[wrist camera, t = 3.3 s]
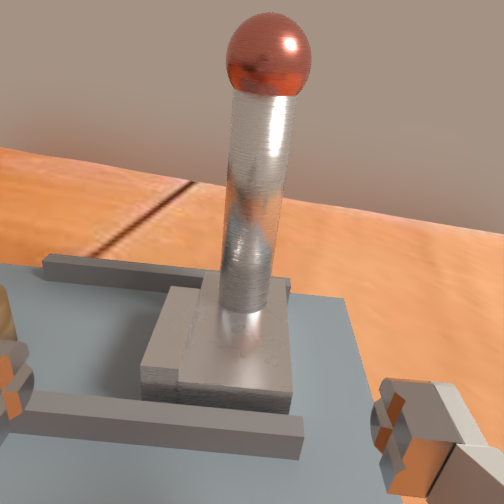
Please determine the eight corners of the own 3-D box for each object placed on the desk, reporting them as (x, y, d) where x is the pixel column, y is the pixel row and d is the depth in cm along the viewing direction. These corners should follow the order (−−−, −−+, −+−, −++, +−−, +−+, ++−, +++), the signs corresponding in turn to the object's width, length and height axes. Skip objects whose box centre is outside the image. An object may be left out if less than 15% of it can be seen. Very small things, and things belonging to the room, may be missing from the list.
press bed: (404, 593, 15) (450, 517, 12) (-314, 528, 14) (-410, 437, 12) (337, 320, 29) (352, 261, 26) (-25, 284, 28) (-43, 220, 26)
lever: (286, 424, 18) (373, 10, 10) (142, 410, 18) (121, -20, 10) (280, 305, 26) (327, 21, 18) (180, 295, 26) (185, 5, 18)
